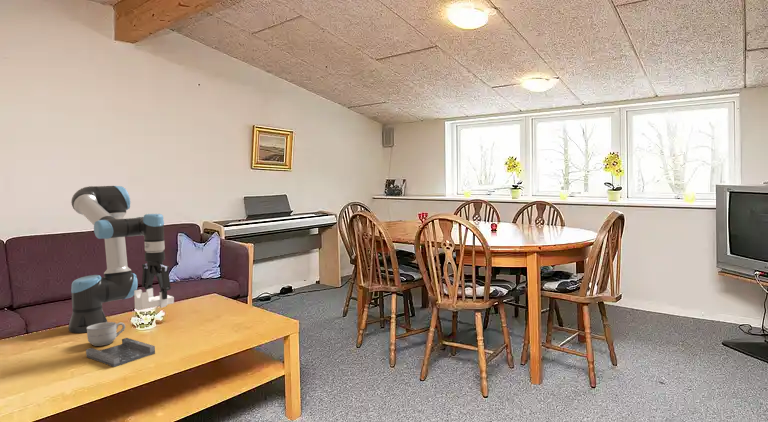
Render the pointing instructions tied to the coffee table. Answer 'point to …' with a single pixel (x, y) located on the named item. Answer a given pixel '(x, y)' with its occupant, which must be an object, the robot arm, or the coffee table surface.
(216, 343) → the coffee table surface
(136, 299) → the bracket
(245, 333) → the coffee table surface
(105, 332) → the teacup
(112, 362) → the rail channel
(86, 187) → the robot arm
